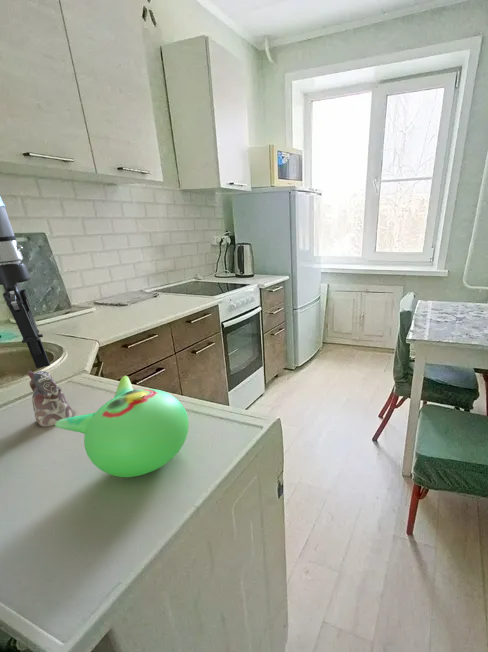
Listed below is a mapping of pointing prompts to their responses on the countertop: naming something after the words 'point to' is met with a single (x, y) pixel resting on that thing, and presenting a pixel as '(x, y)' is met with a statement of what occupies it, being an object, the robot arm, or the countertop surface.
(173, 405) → the toy bird
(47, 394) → the figurine
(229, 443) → the countertop surface
